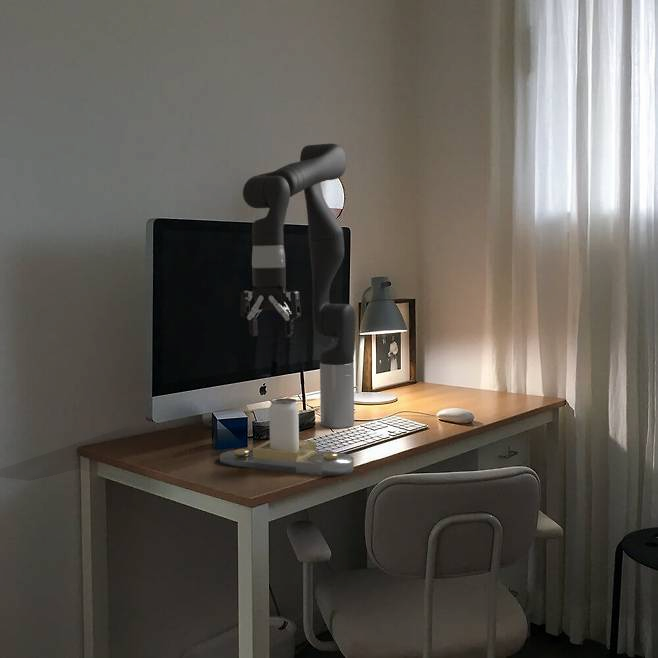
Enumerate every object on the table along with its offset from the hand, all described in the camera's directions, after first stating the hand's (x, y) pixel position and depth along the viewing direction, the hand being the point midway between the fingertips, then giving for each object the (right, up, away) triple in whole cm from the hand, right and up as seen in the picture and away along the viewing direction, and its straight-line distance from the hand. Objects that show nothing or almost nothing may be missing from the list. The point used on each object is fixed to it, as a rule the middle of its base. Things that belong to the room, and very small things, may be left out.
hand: (271, 336), depth 177 cm
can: (+3, -26, -5) cm, 27 cm away
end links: (+4, -29, -5) cm, 29 cm away
